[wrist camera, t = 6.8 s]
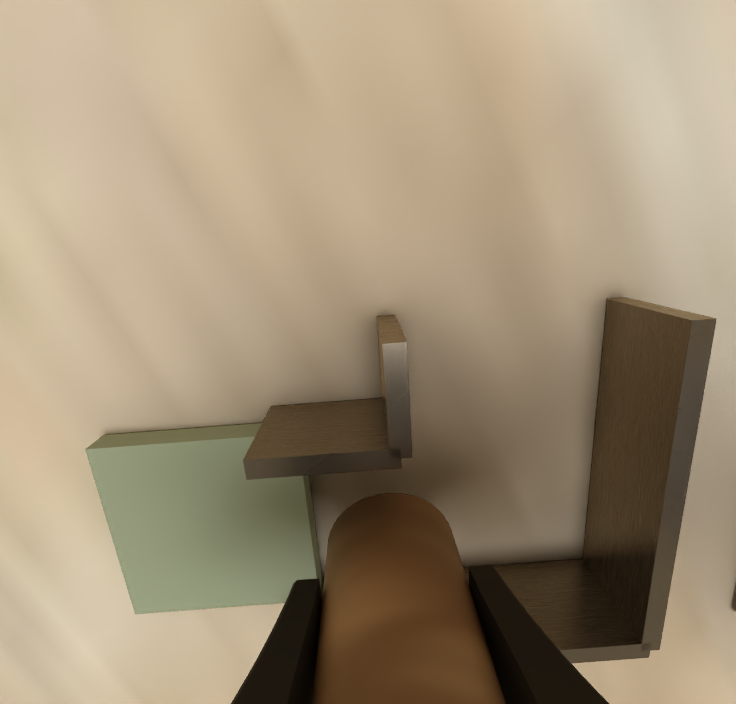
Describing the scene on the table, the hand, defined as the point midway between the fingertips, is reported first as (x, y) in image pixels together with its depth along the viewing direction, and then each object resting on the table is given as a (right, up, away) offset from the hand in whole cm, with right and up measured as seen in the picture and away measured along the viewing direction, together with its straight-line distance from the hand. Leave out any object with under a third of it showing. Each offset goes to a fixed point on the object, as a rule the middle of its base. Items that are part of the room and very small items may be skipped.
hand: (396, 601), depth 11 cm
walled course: (+2, +3, +4) cm, 5 cm away
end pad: (-6, +1, +4) cm, 8 cm away
